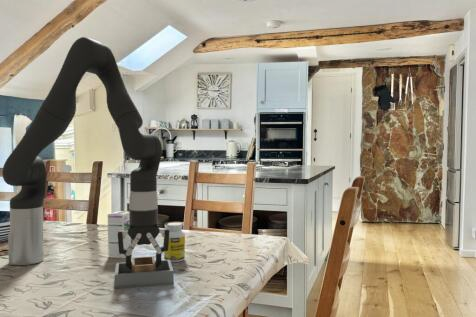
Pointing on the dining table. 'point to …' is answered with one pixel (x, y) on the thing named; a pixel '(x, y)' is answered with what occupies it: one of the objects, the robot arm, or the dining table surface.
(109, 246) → the syrup box
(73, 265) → the dining table surface
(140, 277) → the crate big
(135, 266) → the crate small
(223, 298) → the dining table surface
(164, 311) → the dining table surface
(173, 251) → the pill bottle
